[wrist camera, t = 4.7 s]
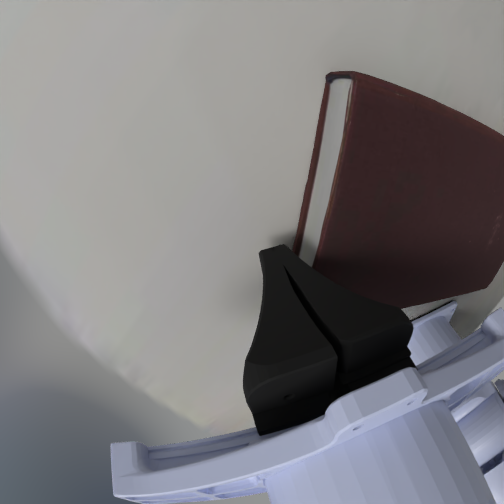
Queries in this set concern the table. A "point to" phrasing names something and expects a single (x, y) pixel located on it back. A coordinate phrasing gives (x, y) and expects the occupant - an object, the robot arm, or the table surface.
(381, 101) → the book
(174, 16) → the table surface
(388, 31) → the table surface
